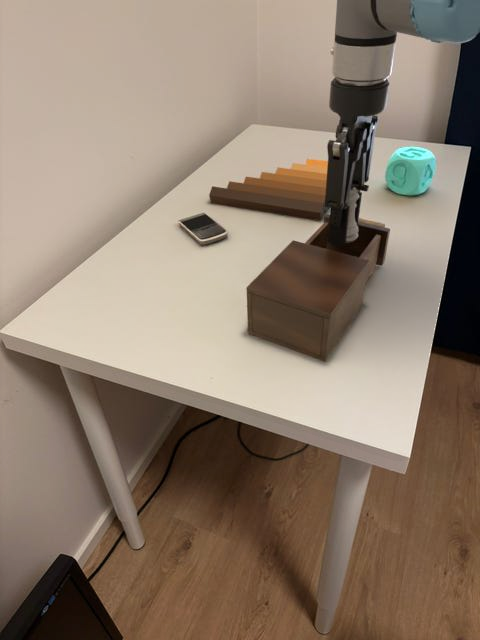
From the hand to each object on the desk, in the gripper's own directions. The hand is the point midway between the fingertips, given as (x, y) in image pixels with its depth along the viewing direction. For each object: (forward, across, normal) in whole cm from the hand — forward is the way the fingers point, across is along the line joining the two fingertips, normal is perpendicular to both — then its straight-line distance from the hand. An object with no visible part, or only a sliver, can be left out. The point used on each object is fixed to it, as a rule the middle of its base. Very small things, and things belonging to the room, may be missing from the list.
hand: (342, 235), depth 78 cm
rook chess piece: (0, 0, 0) cm, 1 cm away
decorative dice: (+9, -40, 0) cm, 41 cm away
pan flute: (+9, -28, -25) cm, 38 cm away
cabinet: (+8, +12, 0) cm, 15 cm away
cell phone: (+9, -2, -30) cm, 31 cm away
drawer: (+8, -3, 0) cm, 8 cm away
